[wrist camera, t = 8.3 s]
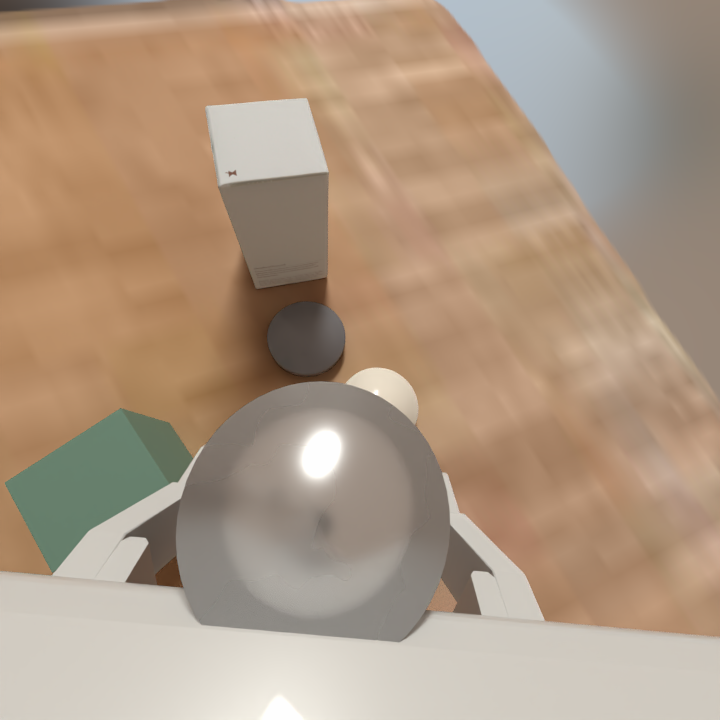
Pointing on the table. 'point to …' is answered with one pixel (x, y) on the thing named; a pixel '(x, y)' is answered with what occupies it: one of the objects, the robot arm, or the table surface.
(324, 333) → the disc
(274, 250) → the supplement box
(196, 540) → the grey-lidded jar
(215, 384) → the table surface
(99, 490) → the block
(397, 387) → the cream dome cap
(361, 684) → the robot arm
